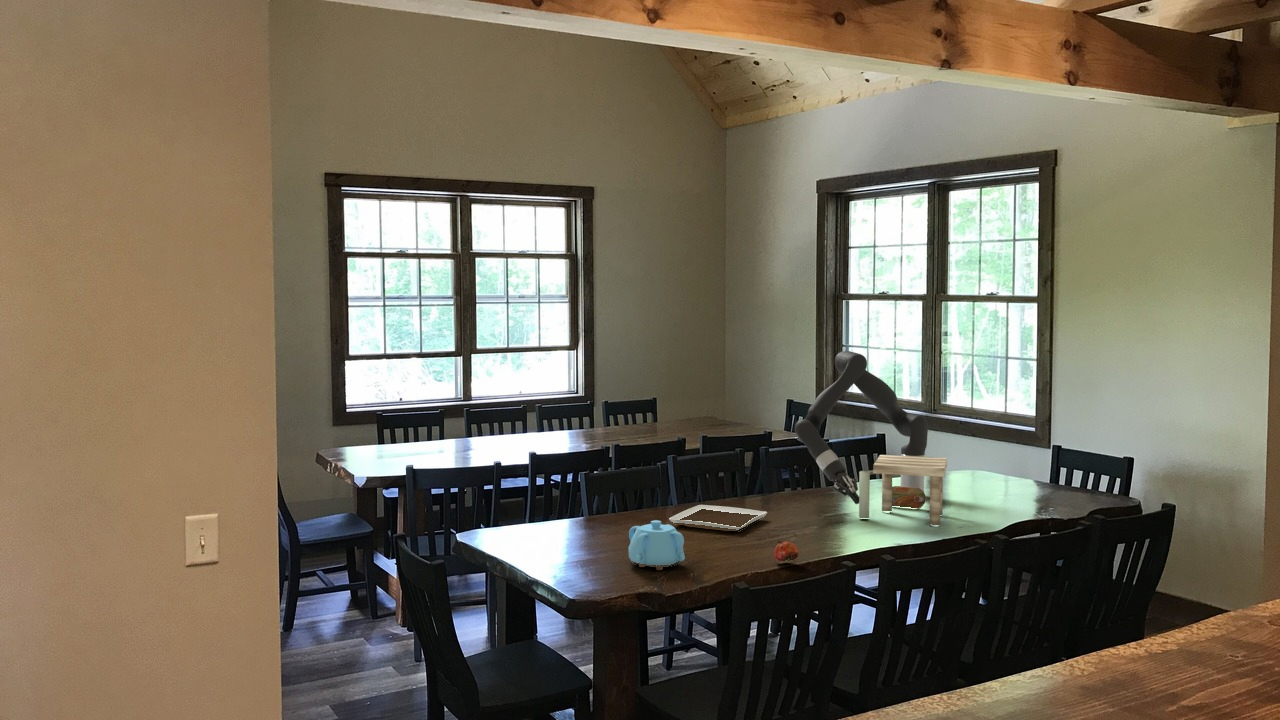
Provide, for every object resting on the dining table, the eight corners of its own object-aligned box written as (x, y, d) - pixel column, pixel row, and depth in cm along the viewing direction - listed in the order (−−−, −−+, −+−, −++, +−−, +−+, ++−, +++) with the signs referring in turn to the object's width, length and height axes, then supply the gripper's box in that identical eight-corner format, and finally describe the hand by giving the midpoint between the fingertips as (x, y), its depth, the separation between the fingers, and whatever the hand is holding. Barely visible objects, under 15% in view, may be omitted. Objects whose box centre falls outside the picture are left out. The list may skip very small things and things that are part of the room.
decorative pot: (630, 573, 301) (630, 527, 300) (627, 559, 317) (627, 515, 316) (685, 572, 302) (686, 526, 301) (679, 558, 318) (679, 514, 317)
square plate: (667, 528, 360) (667, 517, 360) (699, 513, 384) (699, 503, 384) (739, 536, 347) (739, 525, 347) (768, 520, 372) (768, 510, 371)
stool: (879, 510, 387) (880, 454, 386) (945, 514, 380) (946, 457, 378) (872, 523, 364) (873, 464, 363) (943, 528, 357) (944, 468, 355)
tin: (884, 507, 393) (884, 485, 392) (886, 505, 396) (887, 484, 395) (924, 510, 386) (924, 488, 385) (926, 509, 389) (926, 487, 388)
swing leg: (884, 514, 378) (884, 468, 377) (891, 516, 375) (891, 469, 374) (856, 518, 371) (857, 471, 370) (863, 520, 368) (864, 472, 367)
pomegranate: (802, 572, 309) (791, 546, 316) (805, 557, 304) (794, 531, 311) (778, 576, 308) (768, 550, 315) (781, 561, 303) (771, 535, 310)
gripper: (826, 460, 373) (855, 499, 365) (846, 456, 383) (875, 493, 375) (814, 473, 377) (842, 511, 370) (834, 469, 387) (862, 506, 379)
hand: (859, 502), depth 372 cm, fingers closed
